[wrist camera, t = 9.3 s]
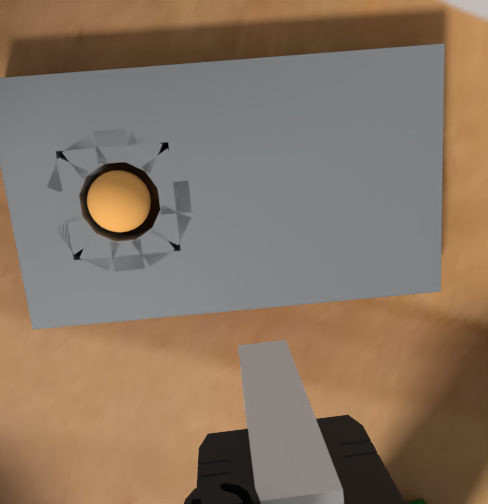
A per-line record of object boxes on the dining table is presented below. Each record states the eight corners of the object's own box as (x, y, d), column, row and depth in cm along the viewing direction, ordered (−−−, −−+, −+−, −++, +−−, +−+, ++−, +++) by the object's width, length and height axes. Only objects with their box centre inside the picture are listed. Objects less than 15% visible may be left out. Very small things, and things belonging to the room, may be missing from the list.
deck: (46, 316, 33) (32, 329, 31) (3, 85, 30) (-17, 79, 27) (425, 281, 34) (440, 291, 32) (426, 51, 31) (444, 43, 28)
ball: (93, 232, 32) (93, 240, 28) (82, 174, 31) (81, 174, 27) (151, 223, 33) (159, 230, 29) (142, 167, 32) (149, 166, 28)
